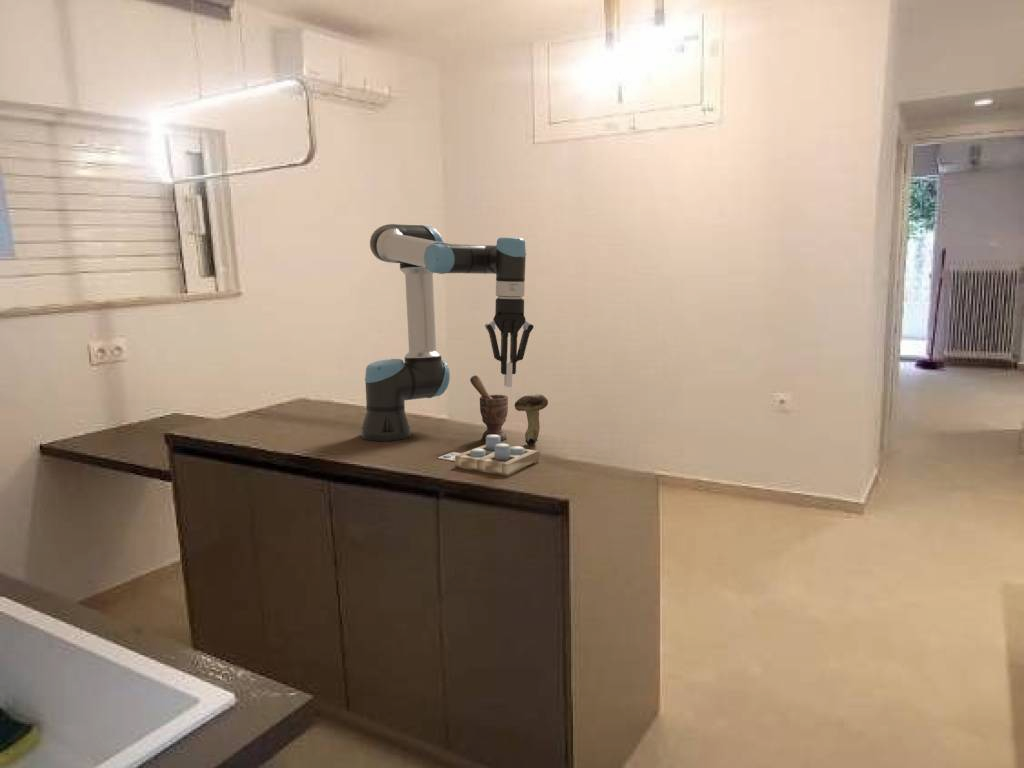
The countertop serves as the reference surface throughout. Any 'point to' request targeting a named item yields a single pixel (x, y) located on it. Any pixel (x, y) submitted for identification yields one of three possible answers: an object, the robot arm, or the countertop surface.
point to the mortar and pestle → (491, 409)
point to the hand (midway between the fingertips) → (508, 386)
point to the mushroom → (532, 414)
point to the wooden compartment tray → (496, 462)
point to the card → (449, 456)
